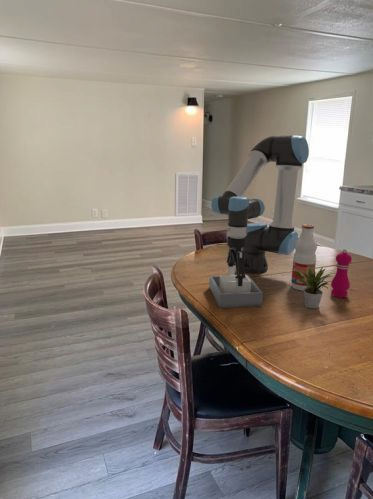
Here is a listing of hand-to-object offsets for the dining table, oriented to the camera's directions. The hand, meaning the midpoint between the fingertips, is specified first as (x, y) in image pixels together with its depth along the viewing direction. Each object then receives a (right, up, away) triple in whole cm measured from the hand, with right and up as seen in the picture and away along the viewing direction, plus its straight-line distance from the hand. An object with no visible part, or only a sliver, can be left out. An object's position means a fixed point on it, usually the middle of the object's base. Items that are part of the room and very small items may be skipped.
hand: (234, 287), depth 153 cm
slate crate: (0, -4, +1) cm, 4 cm away
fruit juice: (+31, -2, +12) cm, 34 cm away
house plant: (+29, -7, -8) cm, 31 cm away
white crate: (0, -3, +1) cm, 3 cm away
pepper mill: (+44, -4, +4) cm, 45 cm away
